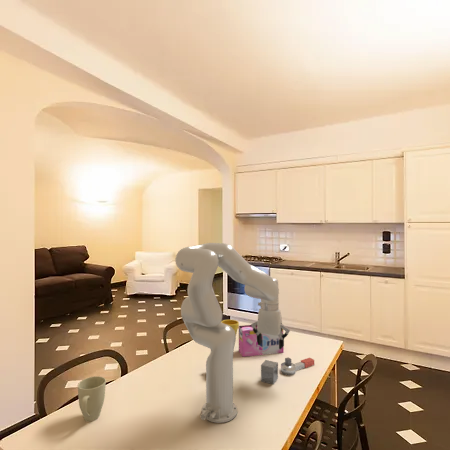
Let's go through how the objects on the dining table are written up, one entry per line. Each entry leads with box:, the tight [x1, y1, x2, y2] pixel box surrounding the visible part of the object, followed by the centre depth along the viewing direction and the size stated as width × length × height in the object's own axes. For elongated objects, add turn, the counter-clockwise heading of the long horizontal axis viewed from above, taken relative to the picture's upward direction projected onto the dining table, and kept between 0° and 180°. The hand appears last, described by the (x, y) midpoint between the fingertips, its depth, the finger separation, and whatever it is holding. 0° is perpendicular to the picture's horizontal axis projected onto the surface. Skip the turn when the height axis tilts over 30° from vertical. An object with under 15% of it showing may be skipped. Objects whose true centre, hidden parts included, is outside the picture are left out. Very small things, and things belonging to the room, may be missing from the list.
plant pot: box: [221, 319, 240, 335], centre depth 181 cm, size 10×10×10 cm
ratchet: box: [280, 357, 315, 376], centre depth 143 cm, size 19×6×6 cm, turn 122°
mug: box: [77, 375, 107, 422], centre depth 106 cm, size 11×10×12 cm
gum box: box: [238, 324, 285, 358], centre depth 162 cm, size 24×8×14 cm, turn 104°
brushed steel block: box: [260, 359, 279, 385], centre depth 132 cm, size 6×6×7 cm
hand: (270, 345), depth 133 cm, fingers open, 9 cm apart
